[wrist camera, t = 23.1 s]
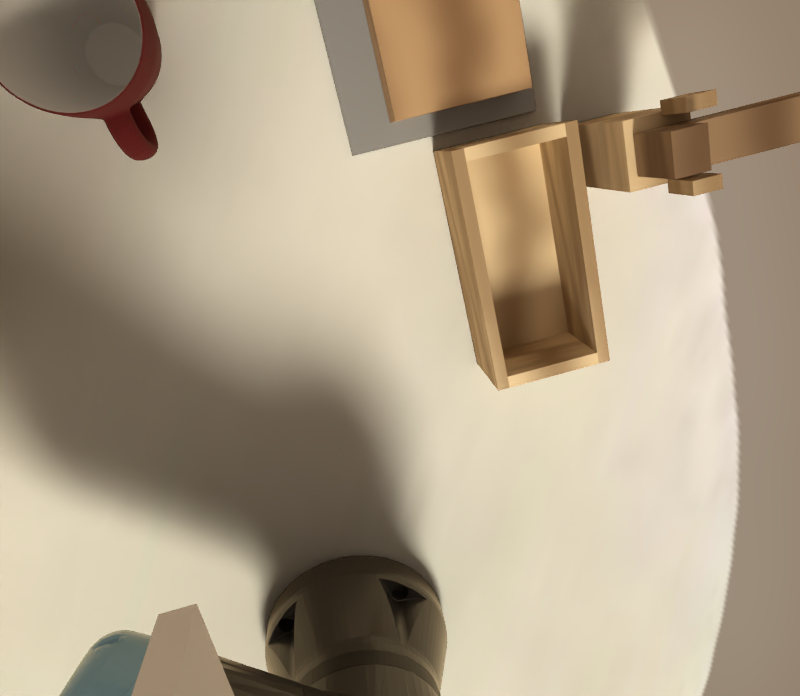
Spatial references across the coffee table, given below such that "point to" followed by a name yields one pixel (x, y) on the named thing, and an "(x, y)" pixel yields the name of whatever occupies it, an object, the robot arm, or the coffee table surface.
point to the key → (717, 138)
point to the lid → (446, 52)
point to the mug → (84, 62)
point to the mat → (365, 95)
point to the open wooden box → (544, 234)
